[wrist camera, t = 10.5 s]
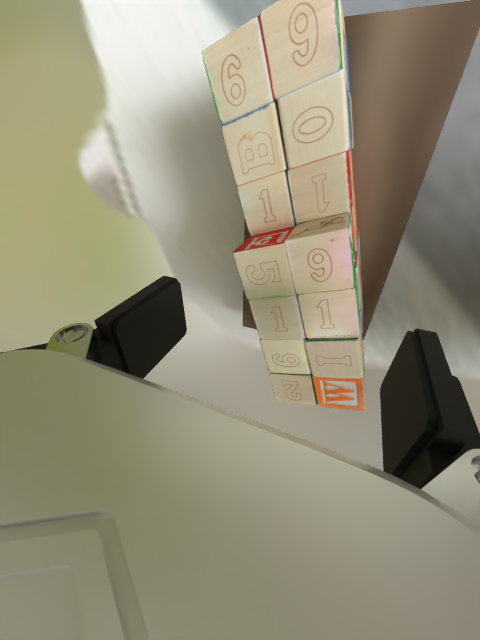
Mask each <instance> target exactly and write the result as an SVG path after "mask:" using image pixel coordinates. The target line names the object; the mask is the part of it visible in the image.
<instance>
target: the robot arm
mask: <svg viewBox="0 0 480 640" xmlns="http://www.w3.org/2000/svg"><path fill="white" fill-rule="evenodd" d="M95 323H96V326H97V328H96V329H93V327H92V326H91V325H89V324H86V323H76V324H71V325H68V326H65V327H63V328H61V329H59V330H58V331H57V332H55V333H54V334H53V335H52V337H51V338H50V341H49V343H46V344H42V345H36V346H32V347H27V348H22V349H17V350H13V351H8V352H1V353H0V640H480V434H479V431H478V428H477V426H476V423H475V421H474V418H473V415H472V413H471V410H470V407H469V405H468V402H467V400H466V397H465V394H464V391H463V389H462V386H461V384H460V381H459V380H458V378H457V377H455V376H452V375H451V372H450V369H449V366H448V363H447V360H446V358H445V355H444V352H443V349H442V346H441V344H440V341H439V338H438V335H437V333H435V332H431V331H426V330H421V329H415V330H414V331H413V332H411V331H408V332H407V333H406V335H405V337H404V339H403V341H402V343H401V345H400V347H399V349H398V351H397V353H396V355H395V358H394V360H393V362H392V364H391V366H390V368H389V370H388V372H387V374H386V376H385V378H384V380H383V382H382V385H381V389H380V399H381V422H382V445H383V467H384V471H381V470H379V469H377V468H374V467H372V466H370V465H368V464H365V463H363V462H360V461H358V460H355V459H352V458H350V457H348V456H345V455H342V454H340V453H337V452H335V451H332V450H330V449H327V448H325V447H322V446H320V445H317V444H315V443H312V442H310V441H307V440H304V439H301V438H299V437H296V436H294V435H291V434H288V433H286V432H283V431H281V430H278V429H275V428H272V427H270V426H267V425H265V424H262V423H259V422H257V421H254V420H252V419H249V418H246V417H244V416H241V415H238V414H236V413H233V412H230V411H228V410H225V409H222V408H220V407H217V406H214V405H212V404H209V403H206V402H204V401H201V400H198V399H196V398H193V397H190V396H187V395H185V394H182V393H179V392H177V391H174V390H171V389H169V388H166V387H163V386H160V385H157V384H155V383H152V382H149V381H147V380H144V379H143V378H144V377H145V376H146V375H147V374H148V373H149V372H150V371H151V370H152V369H153V368H154V367H155V366H156V365H157V364H158V363H159V362H160V360H161V359H163V357H164V356H165V355H166V354H167V353H168V352H169V351H170V350H171V349H172V348H173V347H174V346H175V345H176V344H177V343H178V342H179V341H180V340H181V339H182V337H184V335H185V334H186V329H187V328H186V320H185V313H184V306H183V299H182V292H181V285H180V283H179V282H178V281H177V279H176V278H172V277H168V276H163V277H161V278H159V279H158V280H156V281H155V282H153V283H152V284H150V285H148V286H147V287H145V288H144V289H142V290H141V291H139V292H138V293H136V294H135V295H133V296H131V297H130V298H128V299H127V300H125V301H124V302H122V303H121V304H119V305H118V306H116V307H115V308H113V309H111V310H110V311H108V312H107V313H105V314H104V315H102V316H101V317H99V318H97V319H96V320H95Z"/></svg>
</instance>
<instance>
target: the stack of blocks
mask: <svg viewBox="0 0 480 640" xmlns="http://www.w3.org/2000/svg"><path fill="white" fill-rule="evenodd" d="M202 55H203V61H204V64H205V67H206V71H207V75H208V79H209V82H210V86H211V90H212V93H213V97H214V101H215V105H216V108H217V112H218V115H219V119H220V121H221V123H222V127H221V129H222V134H223V138H224V141H225V145H226V149H227V153H228V157H229V160H230V164H231V167H232V171H233V175H234V179H235V183H236V185H237V191H238V195H239V199H240V203H241V206H242V210H243V213H244V217H245V220H246V224H247V227H248V230H249V232H250V234H251V236H252V237H250V238H248V239H247V240H246V241H245V242H244V243H243V244H242V245H241V246H239V248H237V249H236V250H235V251H234V252H233V256H234V259H235V262H236V266H237V269H238V272H239V275H240V278H241V281H242V285H243V288H244V291H245V294H246V297H247V299H248V300H249V304H250V307H251V311H252V314H253V317H254V320H255V323H256V327H257V330H258V333H259V336H260V343H261V347H262V350H263V354H264V357H265V360H266V363H267V367H268V370H269V372H270V379H271V382H272V386H273V389H274V393H275V396H276V400H277V401H278V402H283V403H292V404H301V405H309V406H316V405H317V404H318V405H319V406H322V407H328V408H339V409H349V410H361V411H364V410H365V388H364V352H363V338H362V333H363V303H362V280H361V258H360V237H359V229H358V228H357V212H356V193H355V191H354V173H353V159H352V149H353V147H354V139H353V119H352V101H351V95H350V81H349V64H348V48H347V38H346V32H345V22H344V15H343V9H342V3H341V0H278V1H277V2H275V3H274V4H272V5H270V6H269V7H267V8H266V9H264V10H263V11H261V13H260V15H259V16H258V17H256V18H254V19H252V20H250V21H248V22H247V23H245V24H244V25H242V26H240V27H239V28H237V29H236V30H234V31H233V32H231V33H229V34H228V35H227V36H225V37H224V38H222V39H220V40H218V41H217V42H216V43H214V44H213V45H211V46H209V47H208V48H206V49H205V50H203V51H202Z"/></svg>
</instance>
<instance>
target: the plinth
mask: <svg viewBox="0 0 480 640" xmlns="http://www.w3.org/2000/svg"><path fill="white" fill-rule="evenodd" d="M344 22H345V32H346V38H347V48H348V64H349V81H350V95H351V101H352V119H353V139H354V147H353V149H352V159H353V173H354V191H355V193H356V212H357V228H358V229H359V237H360V258H361V280H362V303H363V333H362V338H363V340H364V337H365V334H366V332H367V329H368V326H369V324H370V321H371V318H372V316H373V313H374V310H375V308H376V305H377V302H378V300H379V297H380V294H381V292H382V289H383V286H384V283H385V281H386V278H387V275H388V273H389V270H390V267H391V265H392V262H393V259H394V257H395V254H396V251H397V249H398V246H399V243H400V240H401V238H402V235H403V232H404V230H405V227H406V224H407V222H408V219H409V216H410V214H411V211H412V208H413V206H414V203H415V200H416V197H417V195H418V192H419V189H420V187H421V184H422V181H423V179H424V176H425V173H426V171H427V168H428V165H429V163H430V160H431V157H432V154H433V152H434V149H435V146H436V144H437V141H438V138H439V136H440V133H441V130H442V128H443V125H444V122H445V120H446V117H447V114H448V111H449V109H450V106H451V103H452V101H453V98H454V95H455V93H456V90H457V87H458V85H459V82H460V79H461V77H462V74H463V71H464V68H465V66H466V63H467V60H468V58H469V55H470V52H471V50H472V47H473V44H474V42H475V39H476V36H477V34H478V31H479V28H480V0H471V1H463V2H456V3H448V4H440V5H432V6H425V7H417V8H409V9H401V10H394V11H386V12H378V13H370V14H363V15H355V16H347V17H344ZM250 237H252V236H251V234H250V232H249V230H248V227H247V224H246V220H245V237H244V242H245V241H246V240H247V239H248V238H250ZM243 326H245V327H249V328H254V329H257V327H256V323H255V320H254V317H253V314H252V311H251V307H250V304H249V300H248V299H247V297H246V294H245V291H243Z"/></svg>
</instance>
